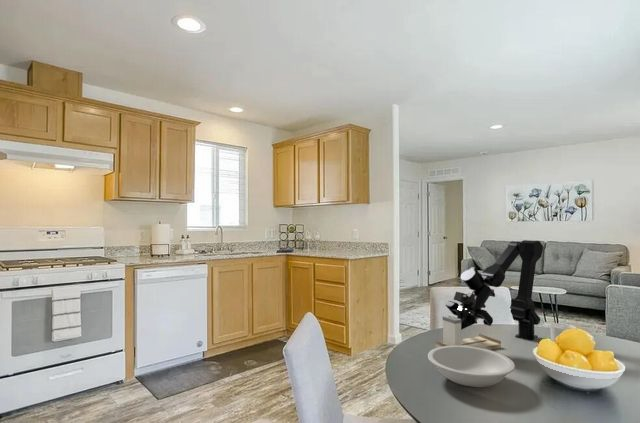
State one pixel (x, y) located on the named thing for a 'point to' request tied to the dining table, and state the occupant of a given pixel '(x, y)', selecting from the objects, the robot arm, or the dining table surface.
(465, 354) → the soup bowl
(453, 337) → the cream rectangular box
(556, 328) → the white cup
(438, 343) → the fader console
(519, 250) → the robot arm
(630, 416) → the dining table surface
